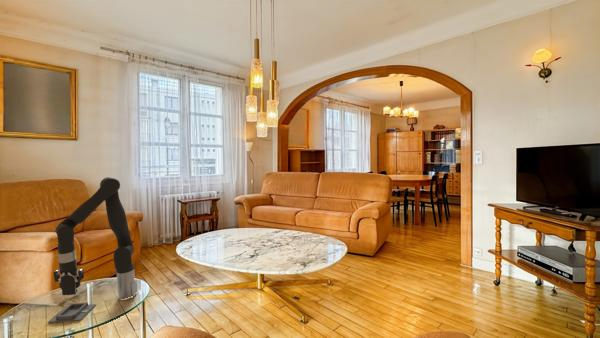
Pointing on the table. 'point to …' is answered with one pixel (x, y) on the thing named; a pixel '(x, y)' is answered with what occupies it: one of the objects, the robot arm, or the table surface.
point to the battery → (68, 285)
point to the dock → (72, 313)
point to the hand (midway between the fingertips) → (70, 287)
